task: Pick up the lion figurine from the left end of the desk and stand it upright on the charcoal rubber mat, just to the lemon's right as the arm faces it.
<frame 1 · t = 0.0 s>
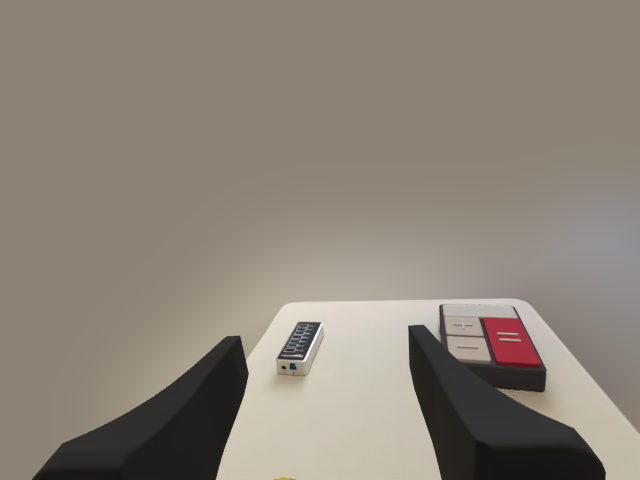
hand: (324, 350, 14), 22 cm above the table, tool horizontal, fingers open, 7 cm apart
button control box: (483, 353, 48), on the table
multiport hub: (303, 353, 53), on the table
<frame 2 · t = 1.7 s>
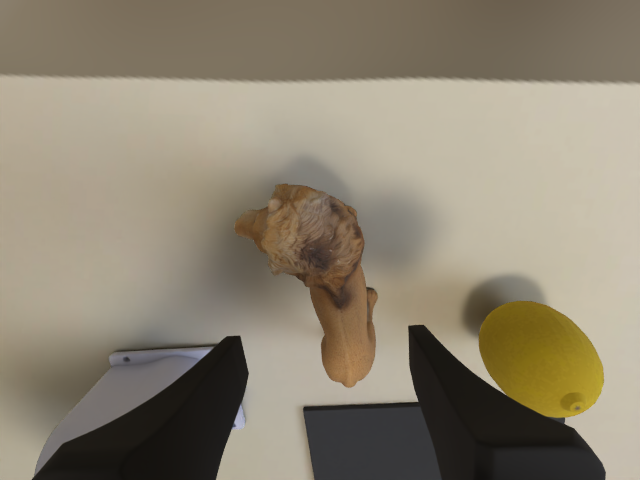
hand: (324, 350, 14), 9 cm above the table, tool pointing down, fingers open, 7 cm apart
desk mat: (430, 461, 29), on the table
lemon: (501, 314, 24), on the table
lion figurine: (331, 261, 23), on the table
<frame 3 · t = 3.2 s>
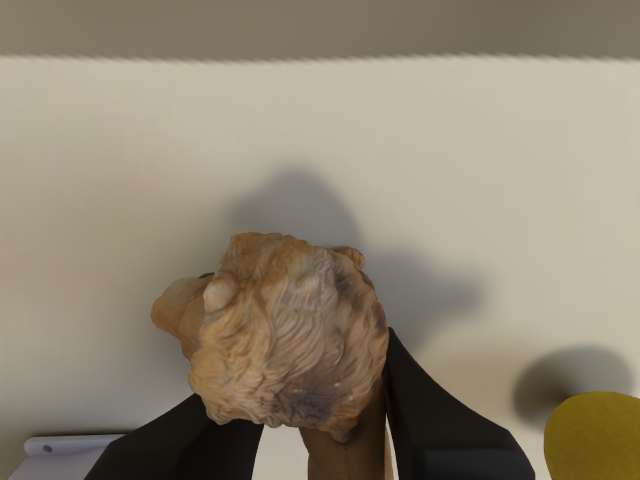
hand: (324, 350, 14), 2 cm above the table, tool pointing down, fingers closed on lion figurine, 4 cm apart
lemon: (568, 397, 17), on the table
lion figurine: (323, 324, 16), on the table, touching gripper
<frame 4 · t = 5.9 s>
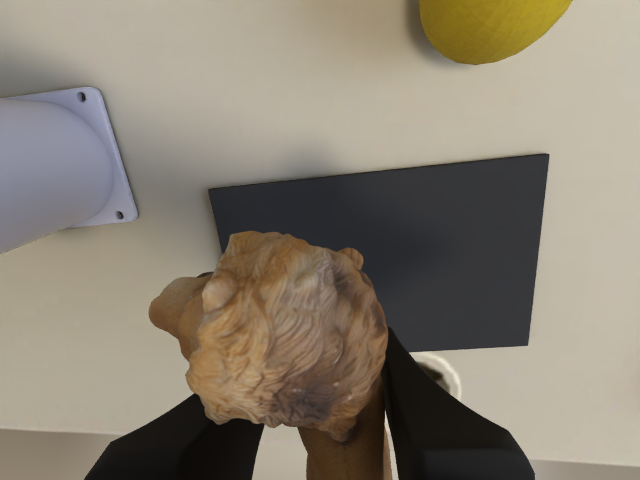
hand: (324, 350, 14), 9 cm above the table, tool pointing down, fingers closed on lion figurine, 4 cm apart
desk mat: (376, 269, 22), on the table
lemon: (458, 15, 18), on the table
lion figurine: (322, 323, 16), point 7 cm above the table, touching gripper
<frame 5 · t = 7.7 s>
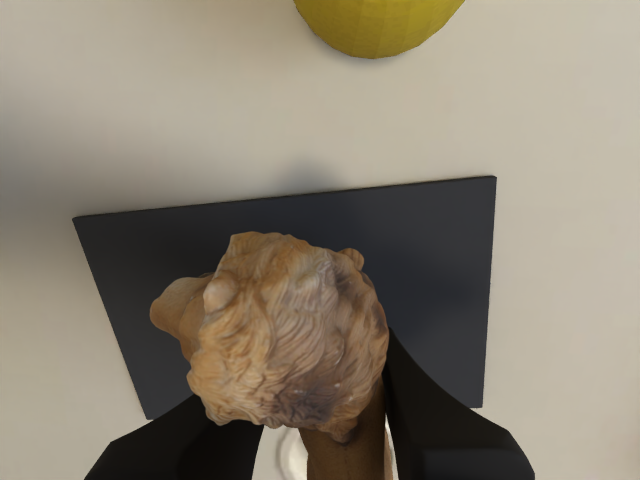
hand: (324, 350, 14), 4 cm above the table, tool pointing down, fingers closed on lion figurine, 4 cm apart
desk mat: (292, 315, 18), on the table
lion figurine: (322, 324, 16), point 2 cm above the table, touching gripper
when the fingers open (2 cm above the table, at t = 8.7 s): lion figurine stays where it is, resting on desk mat.
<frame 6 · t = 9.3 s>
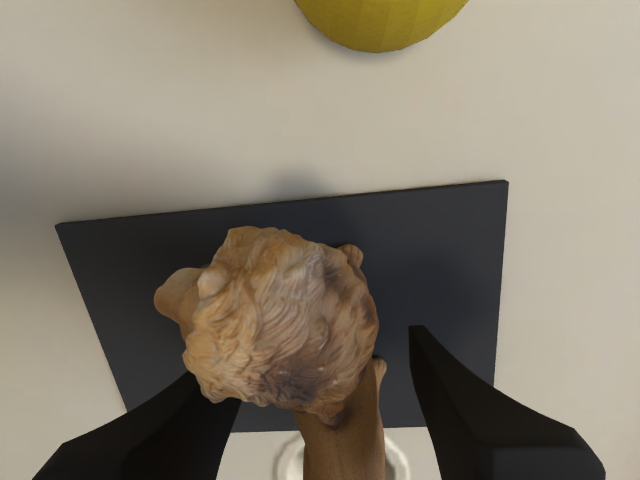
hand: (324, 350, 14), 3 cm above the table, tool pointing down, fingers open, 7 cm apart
desk mat: (289, 327, 17), on the table
lion figurine: (323, 317, 17), resting on desk mat
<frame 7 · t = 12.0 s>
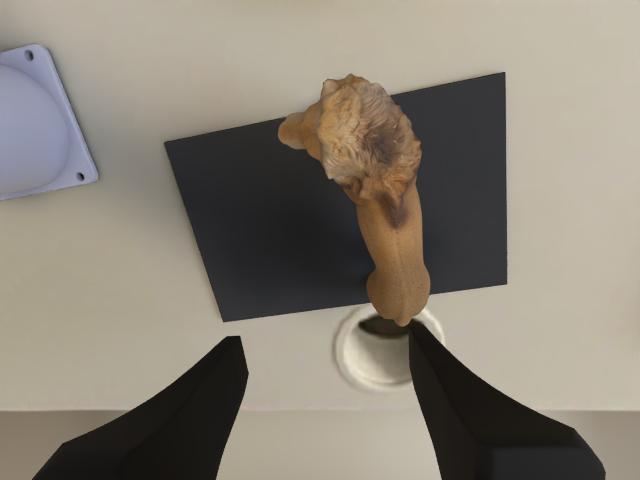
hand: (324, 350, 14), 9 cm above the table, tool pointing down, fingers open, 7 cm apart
desk mat: (342, 214, 22), on the table
lion figurine: (369, 201, 21), resting on desk mat
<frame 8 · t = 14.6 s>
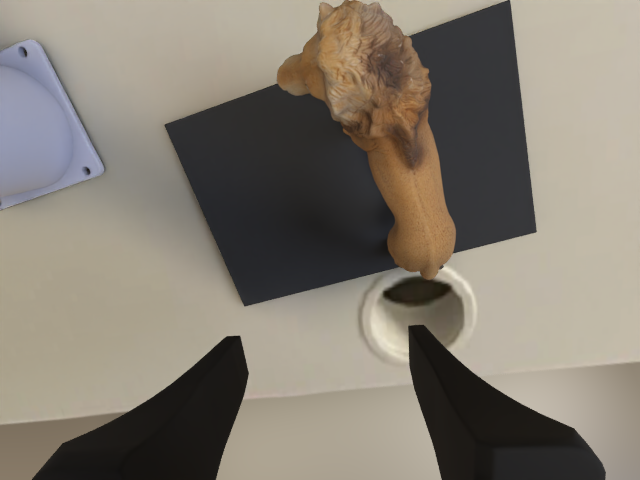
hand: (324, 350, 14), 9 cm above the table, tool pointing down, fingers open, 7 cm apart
desk mat: (354, 178, 21), on the table
lion figurine: (380, 160, 20), resting on desk mat
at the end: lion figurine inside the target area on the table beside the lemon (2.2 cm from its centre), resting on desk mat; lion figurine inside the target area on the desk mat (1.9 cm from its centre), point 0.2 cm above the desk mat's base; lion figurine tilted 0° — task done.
